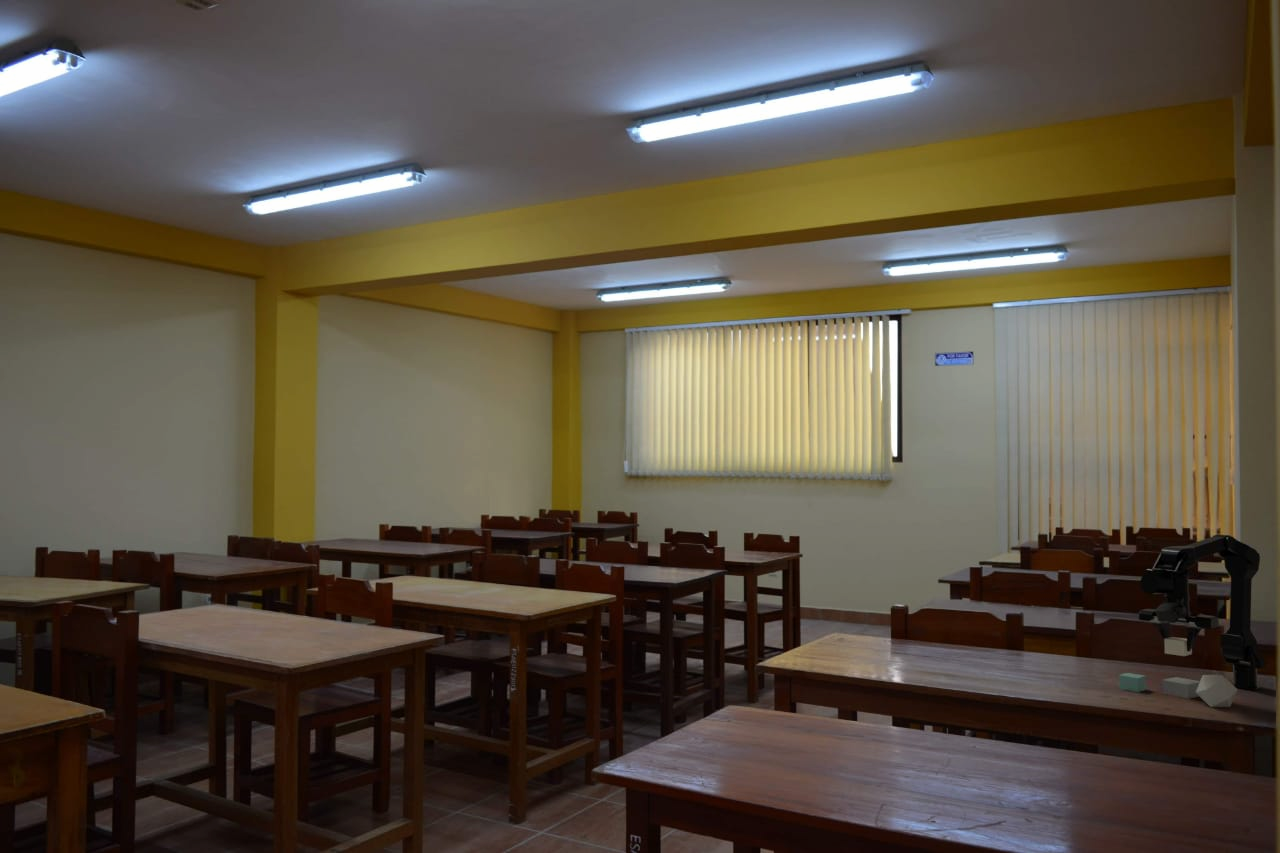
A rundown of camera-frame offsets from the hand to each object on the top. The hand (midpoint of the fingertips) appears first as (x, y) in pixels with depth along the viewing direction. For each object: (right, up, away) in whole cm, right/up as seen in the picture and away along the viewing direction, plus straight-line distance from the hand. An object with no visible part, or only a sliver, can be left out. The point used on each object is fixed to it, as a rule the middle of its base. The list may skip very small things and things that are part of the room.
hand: (1178, 649), depth 255 cm
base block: (0, -12, -1) cm, 12 cm away
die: (+2, -12, -13) cm, 18 cm away
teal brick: (-10, -13, +5) cm, 17 cm away
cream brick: (0, -1, 0) cm, 1 cm away
